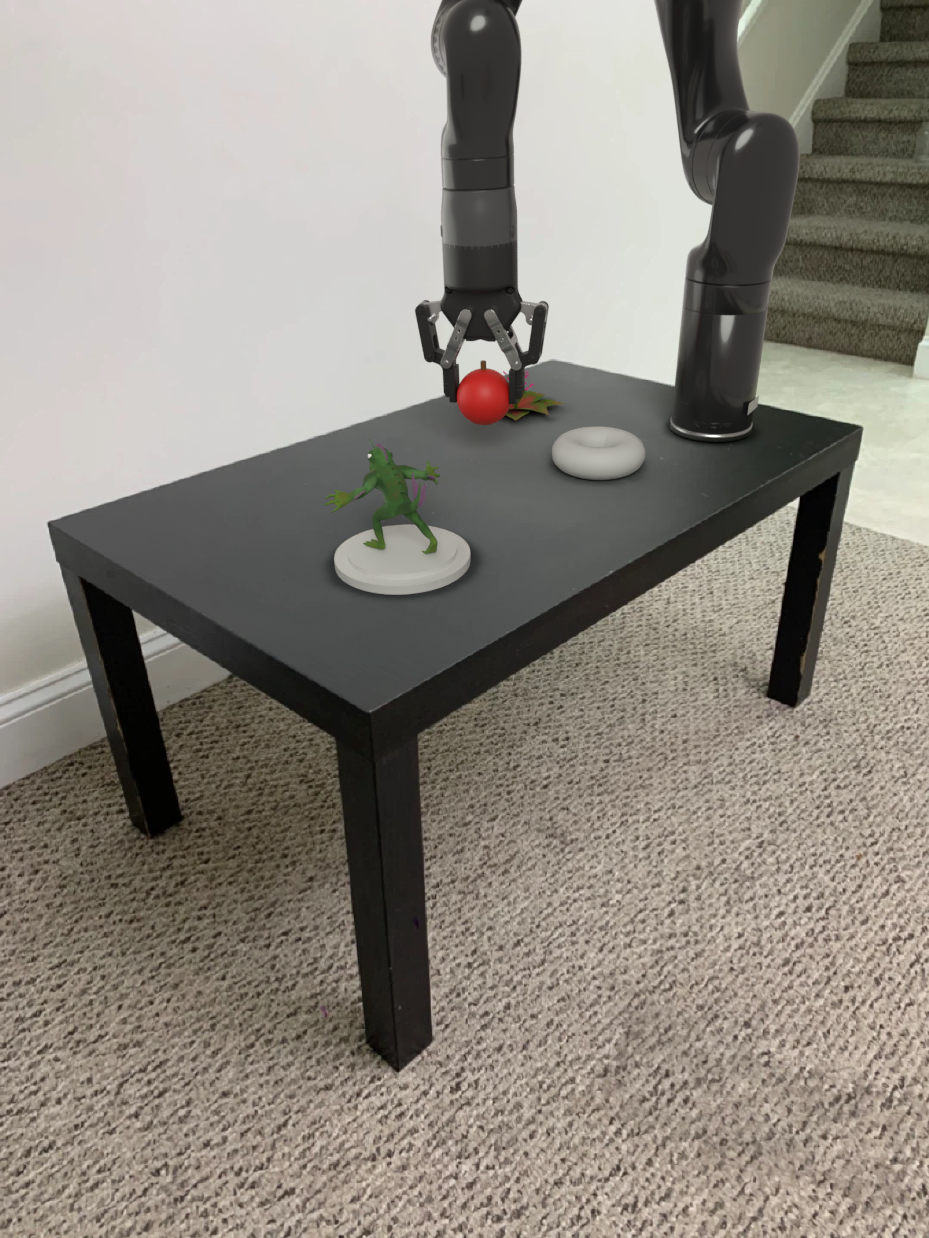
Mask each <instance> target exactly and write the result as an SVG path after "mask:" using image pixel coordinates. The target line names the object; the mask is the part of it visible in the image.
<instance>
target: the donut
mask: <svg viewBox="0 0 929 1238" xmlns="http://www.w3.org/2000/svg"><path fill="white" fill-rule="evenodd" d="M551 455H552V461H553V462H554V465H555V466H556V467H557V468H559V470H560V471H561V472H562V473H565V474H567V475H569V476H572V477H575V478H578V479H579V478H580V479H582V480H591V481H608V480H610V481H611V480H617V479H621V478H624V477H627V476H630V475H631V474H633V473H635V472H636V471H637V470H639V469H640V468H641V466H642V465H643V463H644V461H645V458H646V449H645V446H644V443H643V442H642V440H641V439H640V438H639V437H637V436H636V435H635V434H634V433H631V432H629V431H626V430H624V429H621V428H616V427H611V426H610V427H609V426H583V427H578V428H574V429H571V430H570V429H569V430H568V431H565V432H564V433H562V434H561V435H559V436H558V437H557V438H556V439H555V441H554V443H553V444H552V447H551Z"/></svg>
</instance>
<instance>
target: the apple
mask: <svg viewBox="0 0 929 1238" xmlns="http://www.w3.org/2000/svg"><path fill="white" fill-rule="evenodd" d="M459 382H460V384H459V386H458V390H457V403H456V404H457V407H458V409H459V411H460V413H461V414H462V416H463V417H464V418H465V419H466V420H468V421H469V422H471V423H472V424H475V425H477V426H478V425H479V426H489V425H493V424H495V423H498V422H499V421H502V419H503V418H504V417H505V416H507V415H506V413H507V412H508V410H510V409H509V408H510V405H511V404H509V383H508V382H509V380H508V379H507V378H506V377H505V376H504V375H503V374H502V373H500V372H499V371H497V370H495V369H492V368H487V361H486V360H485V359H484V360H483V359H482V360H480V368H477V369H474V370H472V371H470V372H468V373H467V374H465V375H464V377H463V378H462V379H461V381H459Z"/></svg>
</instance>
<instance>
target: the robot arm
mask: <svg viewBox="0 0 929 1238" xmlns="http://www.w3.org/2000/svg"><path fill="white" fill-rule="evenodd" d="M522 3H523V0H441V1H440V4H439V6H438V9H437V12H436V14H435V16H434V17H435V18H434V21H433V25H432V29H431V32H430V53H431V57H432V60H433V62H434V65H435V67H436V68H437V70H438V71H439V73H440V74H441V75H442V76H443V77H444V78H445V79H446V122H445V124H444V126H443V127H442V130H441V135H440V168H441V172H440V173H441V187H442V189H441V205H440V237H441V246H442V247H441V248H442V249H441V251H442V269H443V271H442V272H443V288H444V289H443V290H444V291H443V295H442V297H441V299H439V300H435V301H434V300H433V301H430V300H429V299H428V300H427V299H424V300H422V301H421V302H420V303H418V304H417V306H416V307H415V309H414V313H415V318H416V323H417V329H418V334H419V339H420V344H421V350H422V353H423V359H424V361H425V362H427V363H433V364H437V365H439V366H440V368H441V369H442V385H443V387H442V388H443V394H444V397H445V398H448V399H449V403H454V404H455V403H456V404H457V390H458V386H459V384H460V382H461V381H460V364H459V363H457V359H458V356H459V354H460V351H461V349H462V347H463V345H464V344H465V342H476V341H479V340H482V341H485V342H489V343H490V342H491V343H492V342H493V343H495V342H496V343H497V345H498V347H499V349H500V351H501V352H502V353H503V354H504V356H505V358H506V360H507V362H508V364H509V366H510V368H509V369H508V377H509V380H508V382H509V404H517V402H518V400H519V399H521V398H522V396H523V393H524V392H525V389H526V385H525V383H526V381H525V380H526V378H525V376H526V375H525V373H526V371H525V368H526V367H529V366H534V365H537V364H538V362H539V361H540V359H541V358H542V355H543V349H544V342H545V335H546V329H547V323H548V322H547V321H548V314H549V309H550V305H549V303H548V302H547V301H545V300H541V301H539V302H531V301H525V300H523V298H522V296H521V294H520V291H519V284H518V283H519V273H518V272H519V271H518V270H519V269H518V267H519V263H518V262H519V261H518V260H519V258H518V256H519V255H518V253H519V252H518V247H519V246H518V207H517V206H518V205H517V198H516V191H515V190H516V188H515V187H516V186H515V145H514V144H515V143H514V127H515V121H516V115H517V109H518V103H519V102H518V101H519V94H520V93H519V92H520V85H521V77H522V75H521V74H522V38H521V32H520V26H519V24H518V21H517V18H516V17H517V15H518V12H519V10H520V7H521V5H522ZM653 3H654V7H655V11H656V17H657V21H658V26H659V31H660V35H661V39H662V44H663V48H664V52H665V56H666V60H667V65H668V70H669V74H670V80H671V86H672V95H673V102H674V109H675V117H676V125H677V134H678V142H679V151H680V159H681V164H682V170H683V175H684V178H685V181H686V183H687V185H688V187H689V189H690V191H691V192H692V193H693V194H694V196H695V197H696V198H697V199H698V200H700V201H701V202H703V203H705V204H708V205H710V206H711V211H710V217H709V223H708V228H707V232H706V233H707V234H706V236H705V237H704V239H703V241H702V242H701V243H699V244H696V245H695V246H693V247H692V248H691V249H690V250H689V252H688V254H687V258H686V264H685V265H686V266H685V275H684V283H683V284H684V285H683V294H682V307H681V318H680V327H679V338H678V347H677V357H676V358H677V359H676V369H675V379H674V391H673V397H672V398H673V399H672V409H671V410H672V411H671V417H670V422H669V429H670V430H671V432H672V433H674V434H676V435H677V436H680V437H682V438H686V439H688V440H693V441H698V442H709V443H728V442H733V441H734V442H735V441H739V440H743V439H745V438H747V437H749V436H750V435H751V434H752V431H753V425H754V424H753V423H754V422H753V418H754V411H755V410H756V409H757V408H758V406H759V398H760V395H758V396H757V392H758V391H757V390H758V382H759V376H760V369H761V362H762V356H763V348H764V340H765V333H766V326H767V320H768V312H769V303H770V297H771V291H772V290H771V289H772V282H773V278H774V270H775V265H776V263H777V261H778V260H779V257H780V256H781V254H782V252H783V250H784V247H785V245H786V241H787V237H788V232H789V226H790V221H791V216H792V211H793V207H794V201H795V197H796V191H797V185H798V179H799V172H800V160H801V157H800V155H801V153H800V144H799V138H798V134H797V132H796V130H795V128H794V126H793V125H792V123H791V122H790V121H789V120H788V119H786V118H785V116H782V115H780V114H777V113H774V112H769V111H760V110H751V109H750V106H749V103H748V98H747V95H746V91H745V87H744V81H743V77H742V71H741V65H740V61H739V49H738V37H739V36H738V34H739V33H738V32H739V23H740V16H741V12H742V5H743V0H653ZM441 312H442V314H443V316H445V318H446V319H447V321H448V322H449V323H450V325H451V327H452V328H453V330H452V332H451V334H450V337H449V339H448V341H447V345H446V348H445V349H443V348H441V347H440V342H439V336H438V331H437V326H436V322H437V321H438V320H439V319H440V313H441ZM520 313H522V314H523V315H524V317H525V322H526V324H527V325H529V326H531V327H530V336H529V342H528V350H526V351H525V350H524V351H523V349H522V347H521V345H520V343H519V339H518V336H517V334H516V331H515V330H514V328H513V323H514V322H515V321H516V319H517V318H518V316H519V315H520Z"/></svg>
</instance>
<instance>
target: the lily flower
mask: <svg viewBox="0 0 929 1238" xmlns="http://www.w3.org/2000/svg"><path fill="white" fill-rule="evenodd" d="M502 373H503V374H504V375H505V376H506V377H505V378H506V380H507V381H508V383H509V375H508V374H507V373H506V372H505V370H503V371H502ZM529 375H530V374H529V370H527V371H525V379H527V378H528V377H529ZM526 385H527V382H525V386H526ZM534 385H535V384H534V383H533V382H532V383H530V384H529V385H528V386H527V387H525V391H524V393H523V396H522V398H521V399H519V400H518V402H517V404H511V405H510V408H509V410H508V412H507V413H506V415H505V416H507V417H508V418H511V419H512V420H514V421H517V420H519V419H521V417H524V416H525V415H528V414H529V413H530V412H531V411H534V412H537V413H541V414H545V415H548V416H550V413H549V411H548V407H551V406H559V405H566V403H565V402H562V401H556V400H555V399H550V398H544V399H543V397H544V396H547V393H541V392H536V391H532V390H529V389H530V388H532V387H533V386H534Z"/></svg>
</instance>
